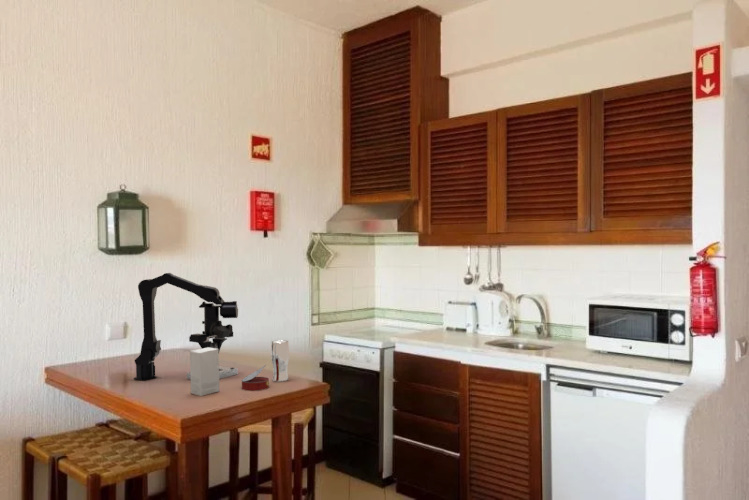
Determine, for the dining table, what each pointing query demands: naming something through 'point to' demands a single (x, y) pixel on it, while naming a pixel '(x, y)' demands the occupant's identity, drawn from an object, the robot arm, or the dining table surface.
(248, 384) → the canned food
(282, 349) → the white tall container
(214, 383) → the skincare box
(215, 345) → the cylinder
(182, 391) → the dining table surface
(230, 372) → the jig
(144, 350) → the robot arm
